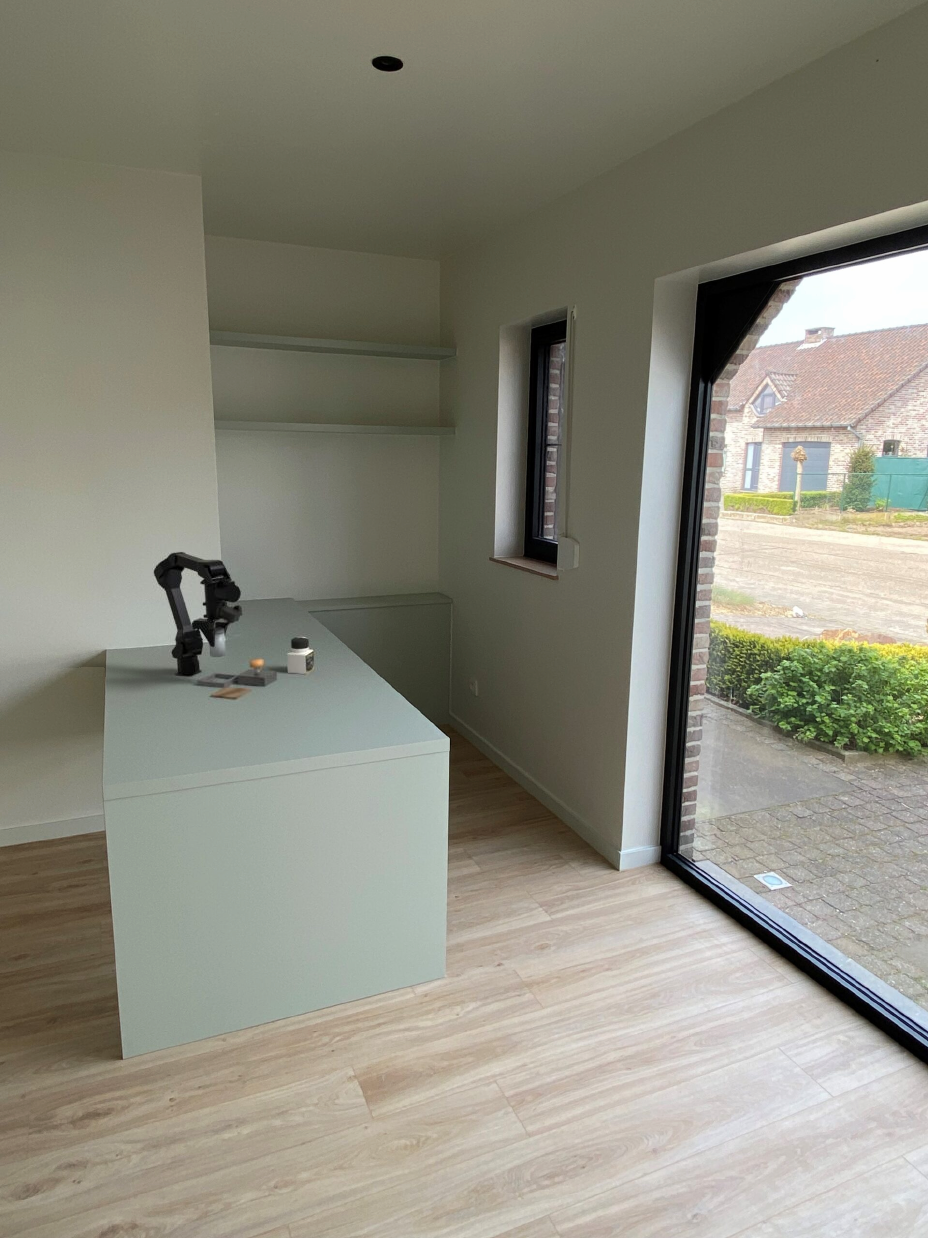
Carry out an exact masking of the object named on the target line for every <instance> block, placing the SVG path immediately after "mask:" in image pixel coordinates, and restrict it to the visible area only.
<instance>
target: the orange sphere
mask: <svg viewBox="0 0 928 1238" xmlns="http://www.w3.org/2000/svg"><path fill="white" fill-rule="evenodd" d="M264 665H265V664H264V659H263V658H252V659H250V660H249V667H250V669H254V674H259V673H260V670H261V668H263V667H264Z"/></svg>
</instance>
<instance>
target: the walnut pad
mask: <svg viewBox="0 0 928 1238" xmlns="http://www.w3.org/2000/svg"><path fill="white" fill-rule="evenodd" d="M251 691H252V689H251V688H244V687H242V688H241V687H233V686H232V687H231V686H227V687H225V688H220V689H219V690H217V691H216V692H213V693H212V694H210V697H211V698H218V697H219V698H220V699H229V700H230V699H231V700H237V699H239V698H242V697H243V696H244V695H246V694H249V693H250V692H251Z"/></svg>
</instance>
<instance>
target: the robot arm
mask: <svg viewBox="0 0 928 1238" xmlns="http://www.w3.org/2000/svg"><path fill="white" fill-rule="evenodd" d="M185 569H187V570H190V571H193V572H196V573H197V575H198V577H201V578H202V580H201V581H200V585H203V586H204V601H203V602H202V606H203V607H205V614H203V615H202V616H203V618H202V617H200V618H196V619H194V620H193V621H192V622H191V618H190V615H189V612H188V609H187V606H186V602H185V599H184V595H183V592H182V589H181V583H182V579H183V575H182V573H183V571H185ZM153 575H154V577H155V579H156V581H157V584H158V585H159V586H160V587H161V588H162V589H163V590H164V592H165V594H166V597H167V600H168V604H169V608H170V611H171V613H172V616H173V621H174V624H175V626H176V634H175V638H174V641H175V646H174V647H173V649H172V650H171V656H172V658H173V659H176V663H177V672H175V674H174V675H176V676H184V677H192V676H195V675H197V674H198V673H201V672H202V669H200V661H199V658H198V656H201V655H202V653H203V648H204V647H203V646H204V639H203V637H202V635H203V636H204V637H205V639H206V641H207V642H208V644H210V646H211V647H214V645H215V631H216V630H217V629H218V627H222V628H224V635H225V636H226V633H227V630H228V627H229V626H230V625H231V624H234V623H236V622H239V620H240V617H241V616H243V610H242V606H241V605H239V604H235V605H234V606H229V605H228V603H227V602H229V603H236V602H238V601H239V599H240V598H241V594H242V591H241V589H240V587H239V586H238V585H237V584H236V582H235V580H232V578H231V575H230V573H229V571H228V570H227V567H226V566H225V564H224V563H223V561H222V560H221V559H203V558H200V557H197V556H195V555H190V554H188V553H186V552H183V551H177V552H171V553H170V554H169V555H168V556H167V557H166V558H164V559H162V560H161V561H160V562H158V564H156V566H155V567H154V570H153Z"/></svg>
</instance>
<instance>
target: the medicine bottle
mask: <svg viewBox="0 0 928 1238" xmlns="http://www.w3.org/2000/svg"><path fill="white" fill-rule="evenodd" d="M290 643H291V644H290V648H291V649H290V650H291V651H289V652H287V654H286V662H287V674H299V675H307V674H308V673H310V672H312V671H314V669H315V660H314V658H315V656H314V655H315V654H314V650H313V649H310V646H309V645H310V644H309V643H310V641H309V639H308V637H305V636H297V637H296V636H295V637H293V638H291V639H290Z"/></svg>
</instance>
